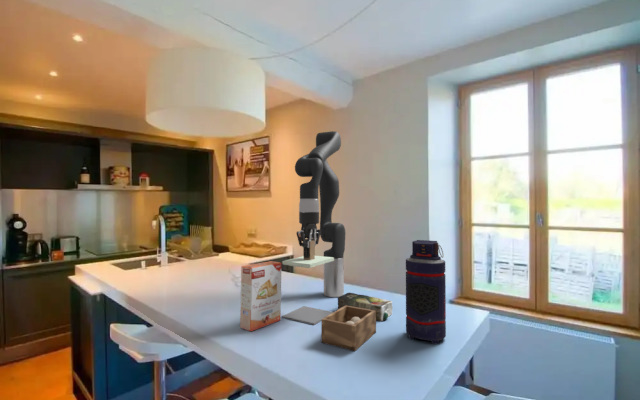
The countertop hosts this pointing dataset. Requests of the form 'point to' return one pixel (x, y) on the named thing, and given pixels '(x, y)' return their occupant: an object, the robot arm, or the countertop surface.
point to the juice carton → (367, 304)
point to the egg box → (348, 327)
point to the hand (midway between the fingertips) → (309, 256)
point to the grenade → (425, 292)
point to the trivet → (307, 315)
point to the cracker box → (260, 295)
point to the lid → (308, 259)
